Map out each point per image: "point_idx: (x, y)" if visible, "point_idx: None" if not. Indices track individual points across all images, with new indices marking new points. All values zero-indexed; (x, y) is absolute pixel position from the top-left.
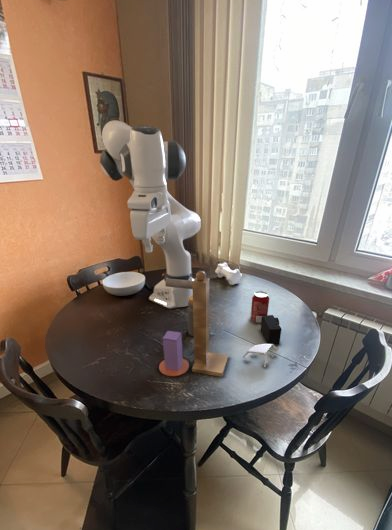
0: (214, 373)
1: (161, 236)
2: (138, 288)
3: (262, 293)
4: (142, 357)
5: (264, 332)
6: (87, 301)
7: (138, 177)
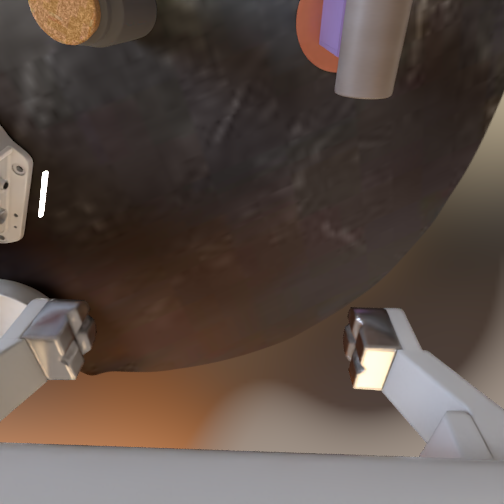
0: None
1: (30, 364)
2: (7, 284)
3: None
4: (310, 137)
5: None
6: (116, 354)
7: None
